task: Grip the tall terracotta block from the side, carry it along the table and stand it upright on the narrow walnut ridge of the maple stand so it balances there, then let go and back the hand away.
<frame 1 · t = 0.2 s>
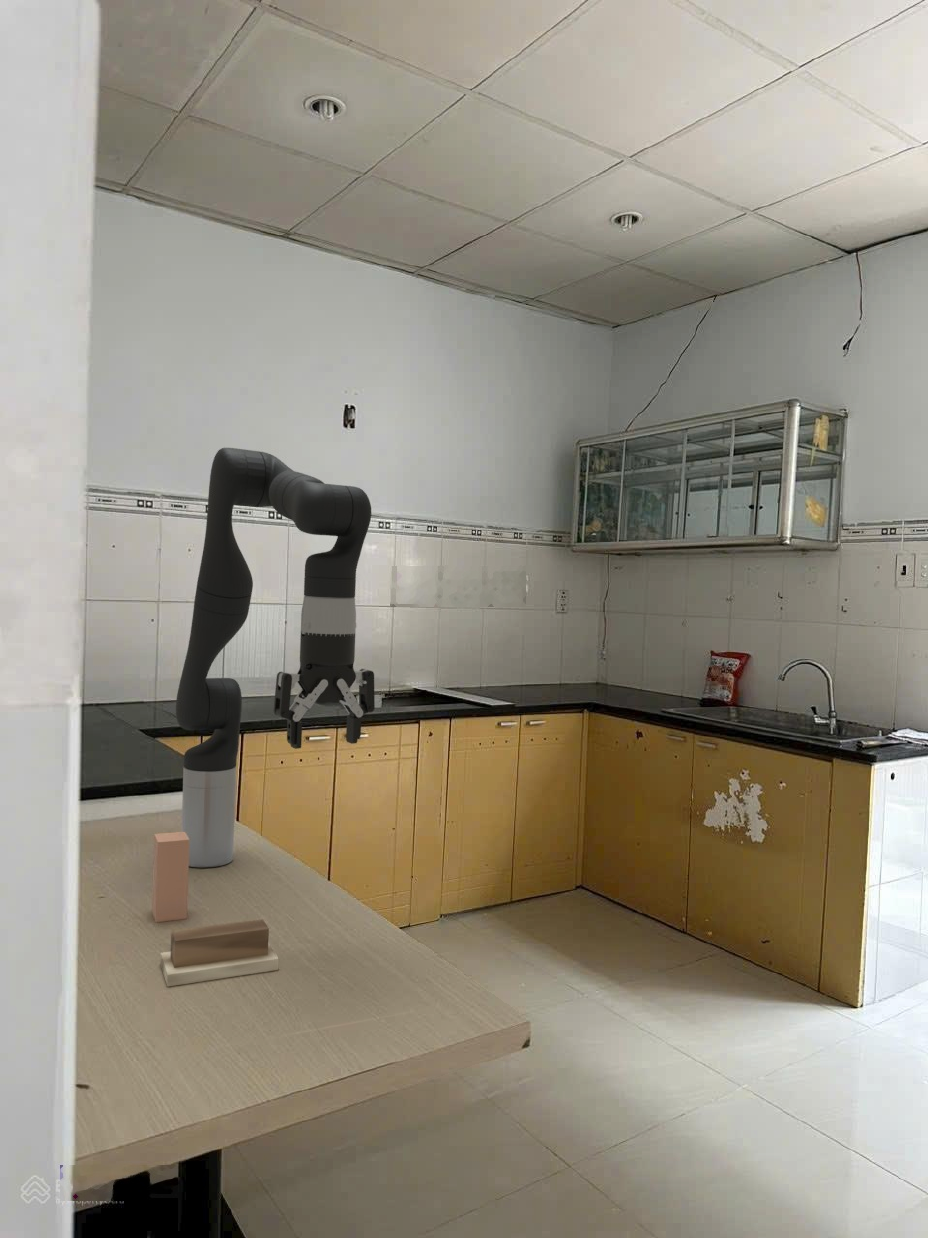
hand: (324, 745, 123), 29 cm above the table, tool pointing down, fingers open, 8 cm apart
block: (169, 915, 134), on the table
stand: (219, 967, 117), on the table
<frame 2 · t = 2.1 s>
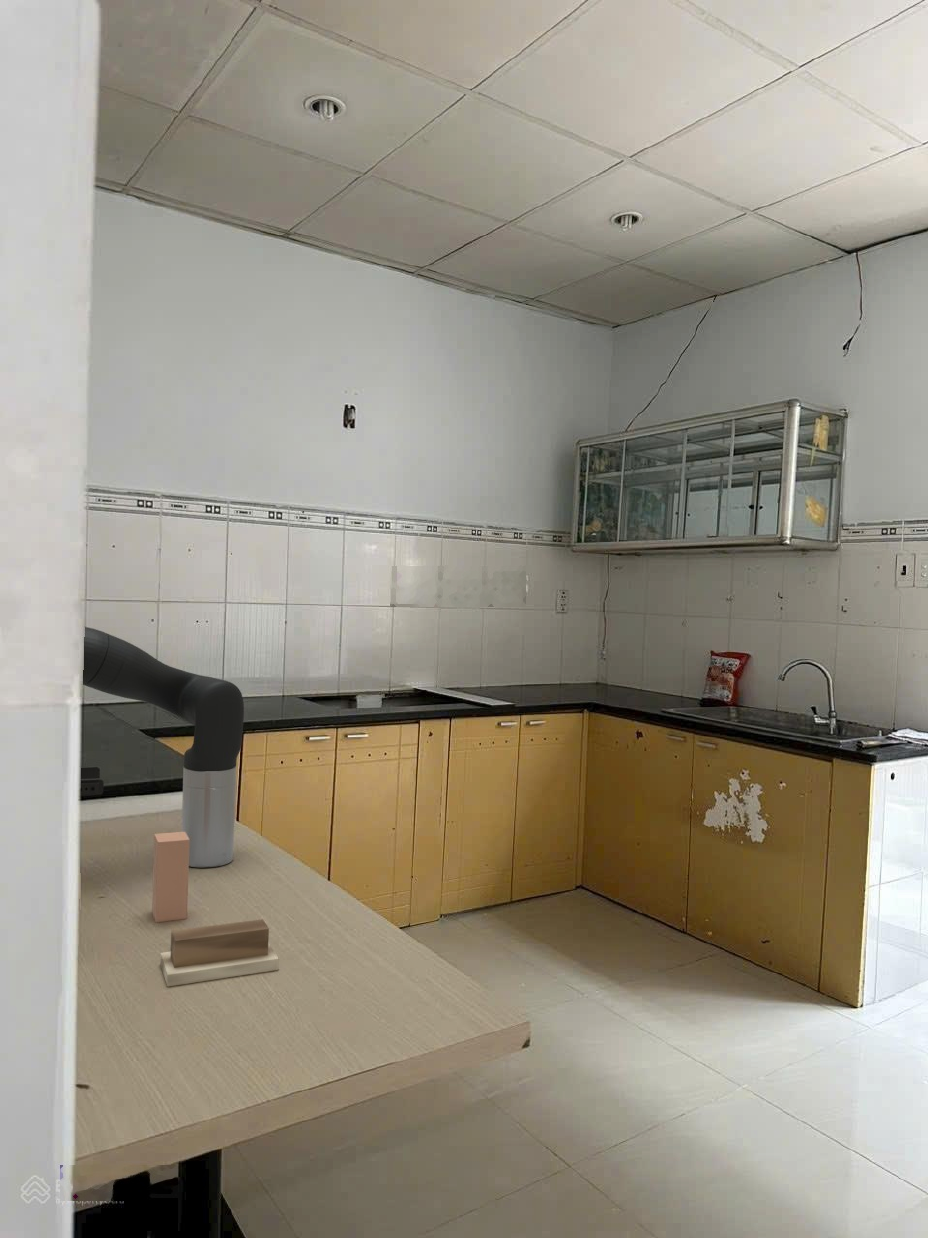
hand: (101, 780, 128), 21 cm above the table, tool horizontal, fingers open, 8 cm apart
nothing on the table moved.
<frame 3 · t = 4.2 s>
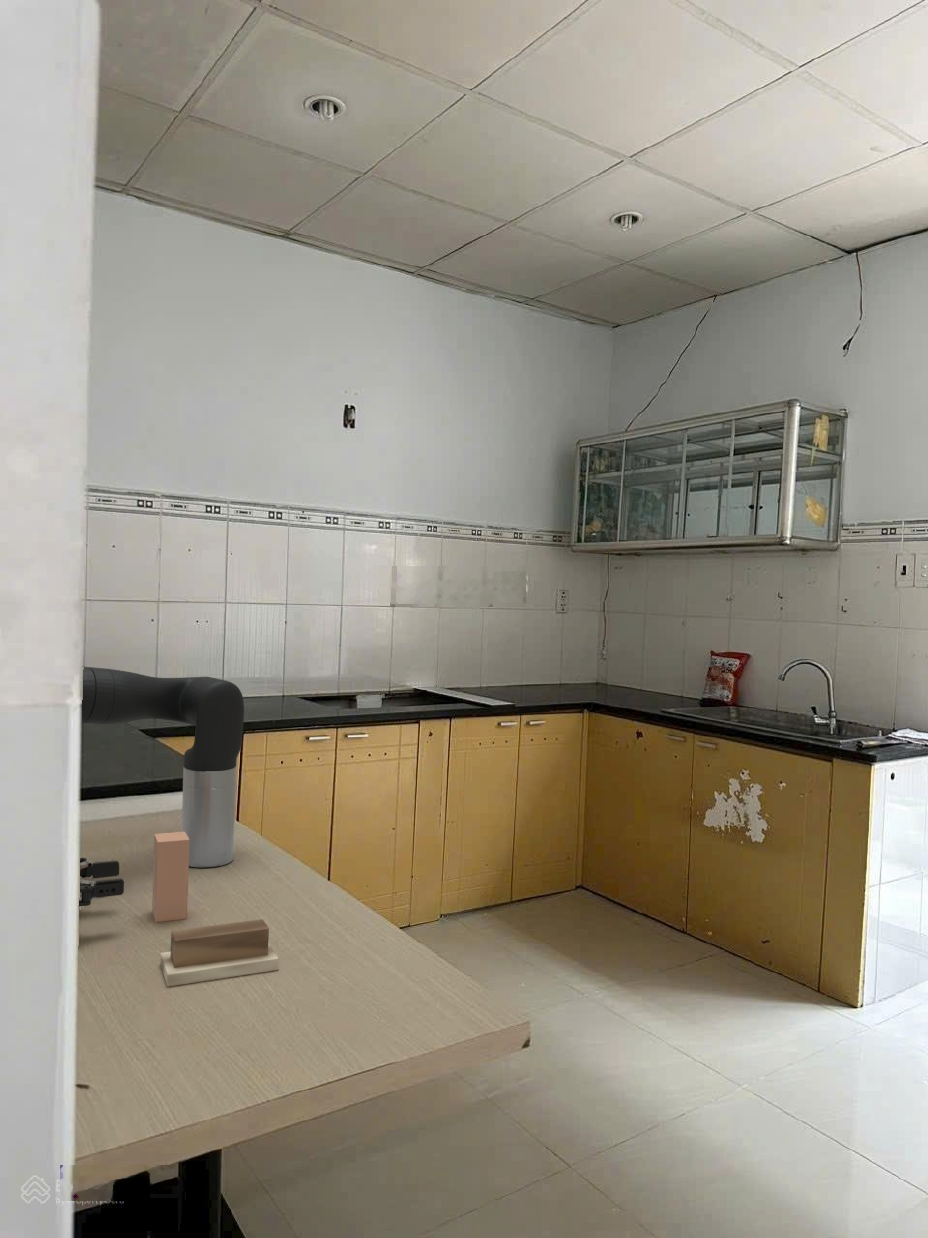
hand: (121, 877, 130), 7 cm above the table, tool horizontal, fingers open, 8 cm apart
nothing on the table moved.
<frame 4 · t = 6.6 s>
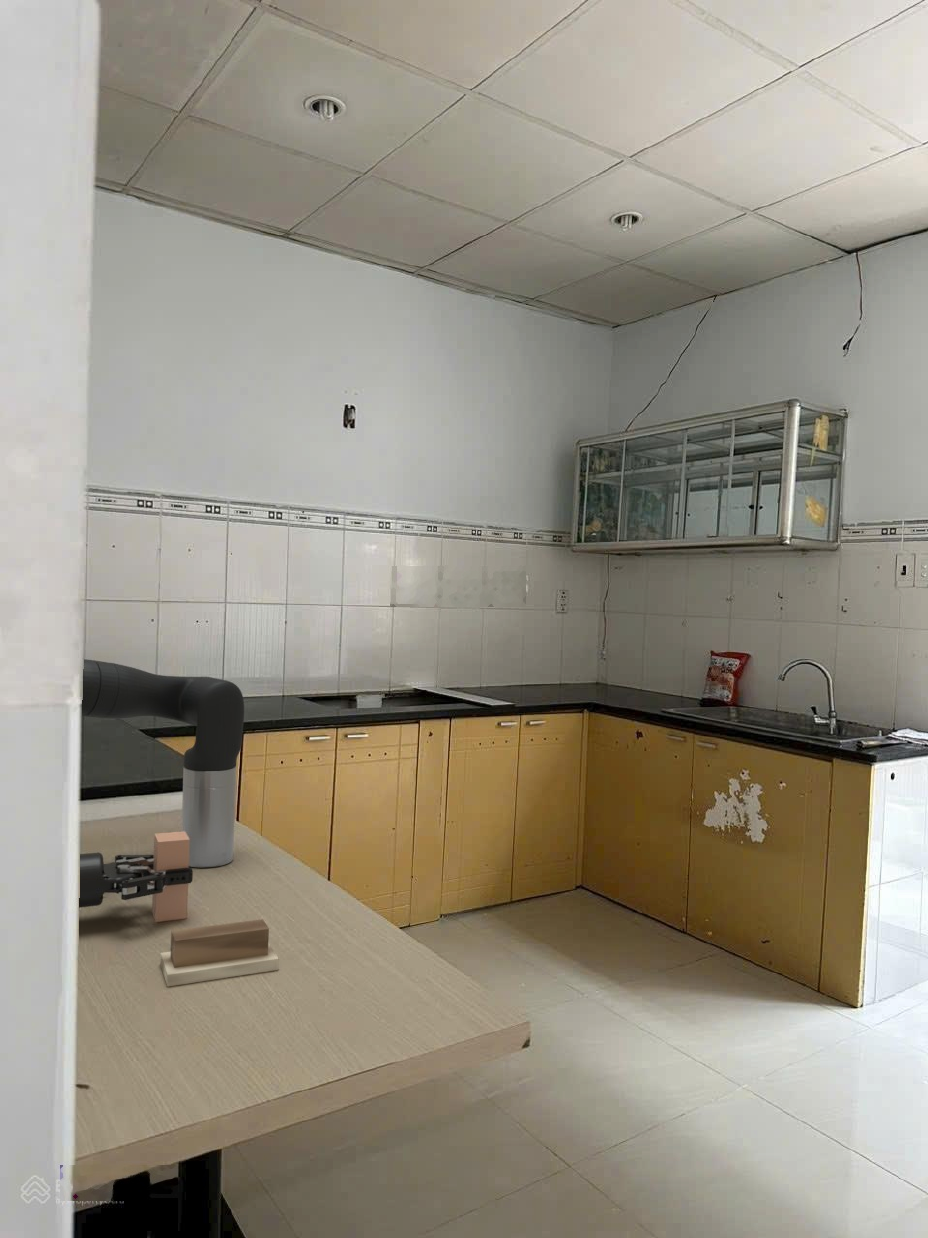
hand: (189, 869, 135), 7 cm above the table, tool horizontal, fingers closed on block, 4 cm apart
block: (169, 915, 134), on the table, touching gripper
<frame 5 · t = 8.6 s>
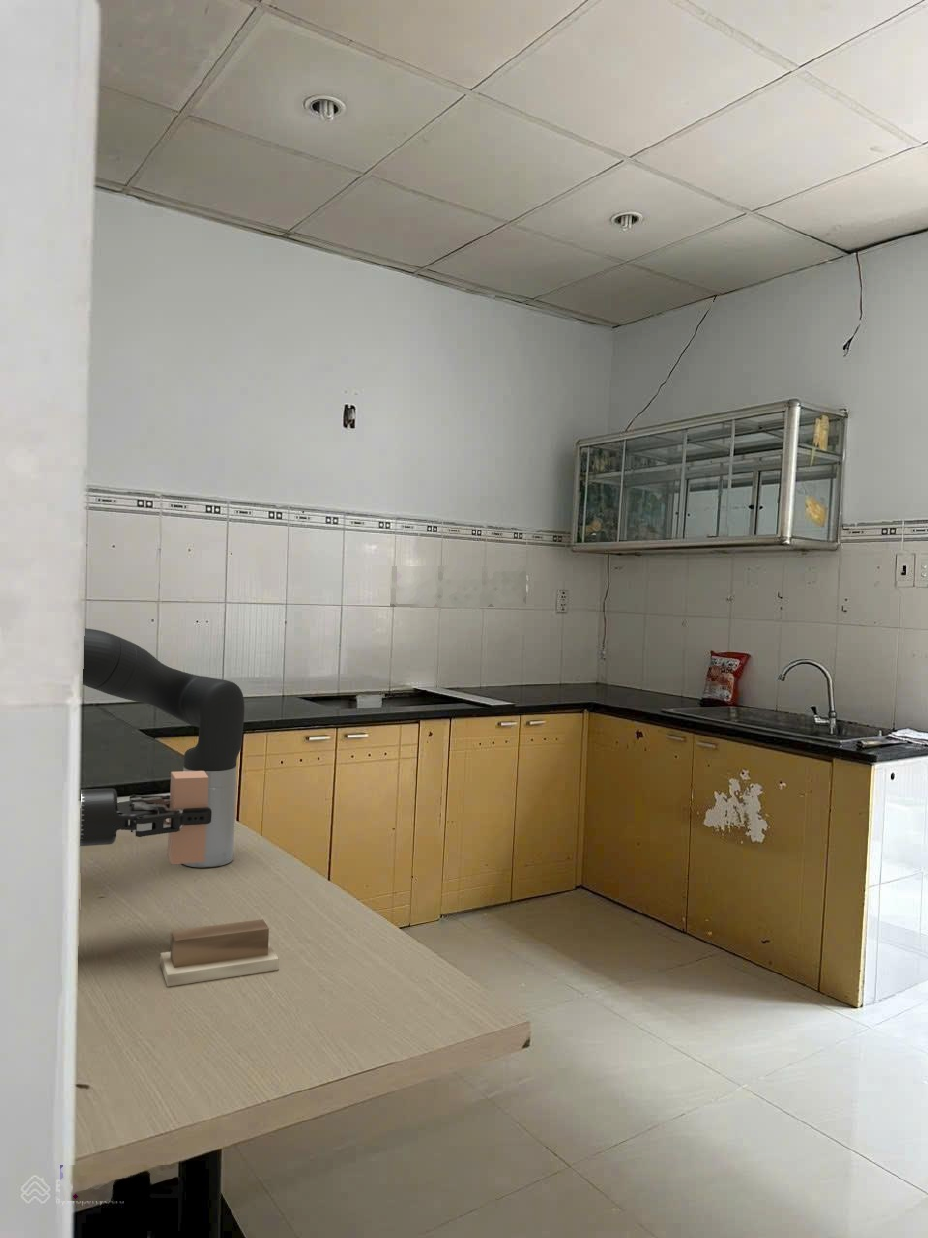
hand: (207, 811, 126), 18 cm above the table, tool horizontal, fingers closed on block, 4 cm apart
block: (185, 858, 125), point 11 cm above the table, touching gripper
when the fingers open (12 cm above the table, at t = 10.9 s): block stays where it is, resting on stand.
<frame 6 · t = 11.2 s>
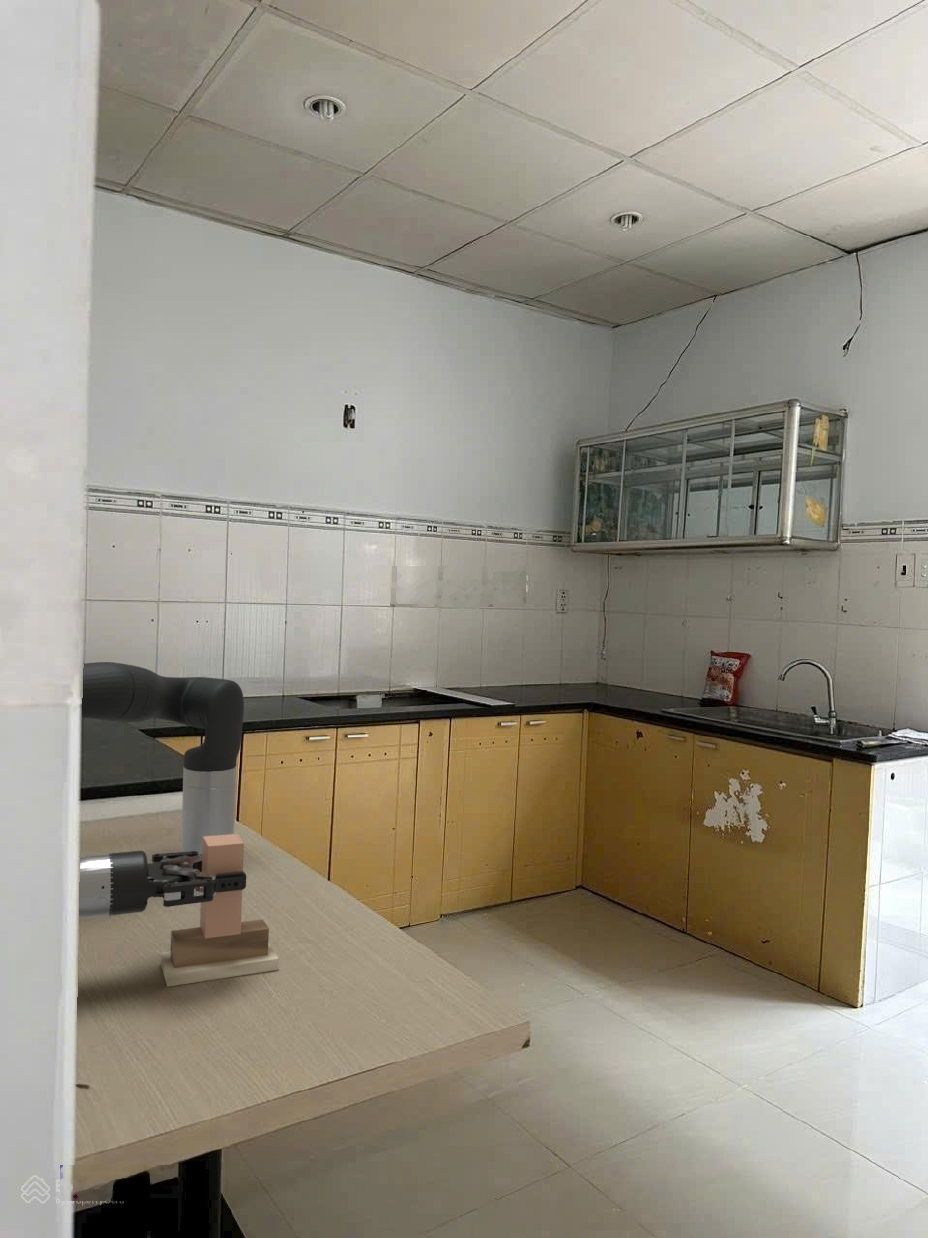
hand: (239, 871, 117), 13 cm above the table, tool horizontal, fingers open, 7 cm apart
block: (220, 929, 116), point 5 cm above the table, touching stand
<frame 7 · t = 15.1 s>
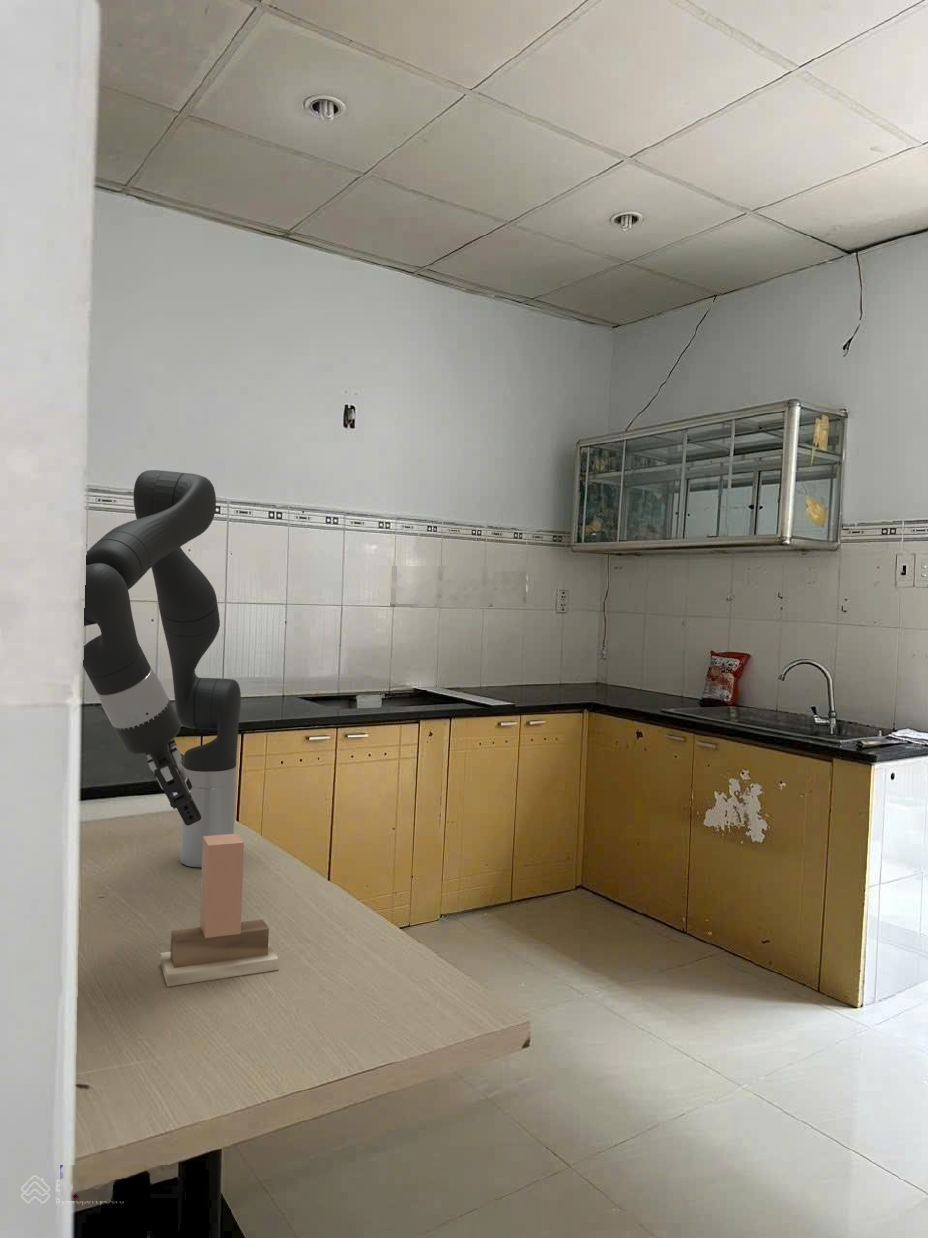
hand: (189, 805, 120), 20 cm above the table, tool tilted 30°, fingers open, 8 cm apart
nothing on the table moved.
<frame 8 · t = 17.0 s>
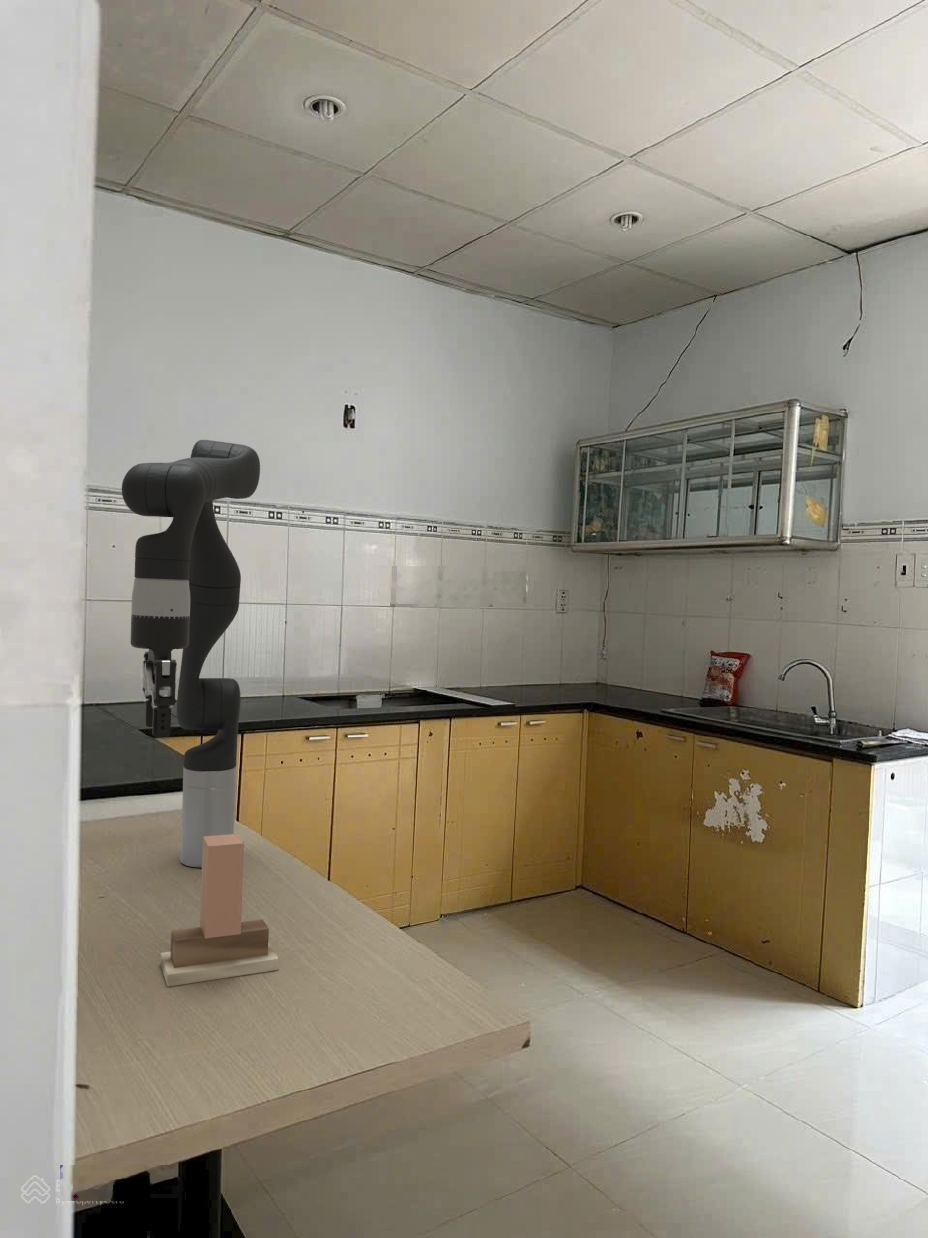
hand: (157, 731, 120), 30 cm above the table, tool pointing down, fingers open, 8 cm apart
nothing on the table moved.
at the end: block inside the target area on the stand (0.1 cm from its centre), point 5.0 cm above the stand's base; block tilted 0°; the gripper is holding nothing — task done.
